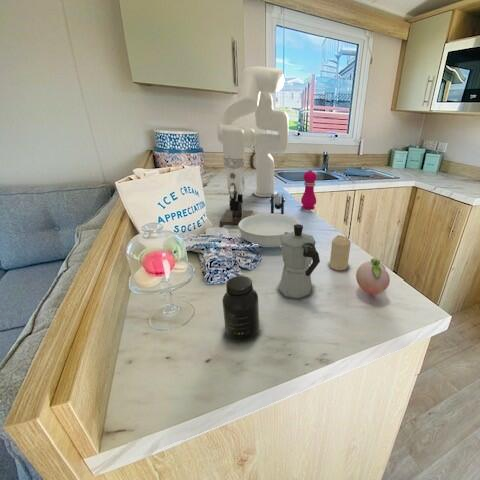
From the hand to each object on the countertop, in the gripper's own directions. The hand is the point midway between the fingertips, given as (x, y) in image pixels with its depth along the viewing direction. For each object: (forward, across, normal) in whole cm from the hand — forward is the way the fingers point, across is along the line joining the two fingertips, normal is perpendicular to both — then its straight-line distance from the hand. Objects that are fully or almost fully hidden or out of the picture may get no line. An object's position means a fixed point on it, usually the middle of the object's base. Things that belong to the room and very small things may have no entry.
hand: (236, 206), depth 109 cm
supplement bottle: (+7, -62, -11) cm, 63 cm away
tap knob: (+4, 0, 0) cm, 4 cm away
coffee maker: (+7, -48, -23) cm, 53 cm away
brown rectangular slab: (+6, 0, 0) cm, 6 cm away
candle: (+7, -35, -36) cm, 50 cm away
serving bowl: (+7, -18, -14) cm, 24 cm away
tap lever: (0, +3, -16) cm, 16 cm away
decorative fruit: (+7, -49, -42) cm, 65 cm away
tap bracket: (+6, -1, -16) cm, 17 cm away
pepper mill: (+6, +18, -30) cm, 36 cm away
